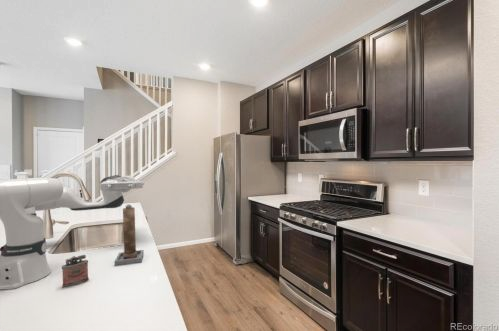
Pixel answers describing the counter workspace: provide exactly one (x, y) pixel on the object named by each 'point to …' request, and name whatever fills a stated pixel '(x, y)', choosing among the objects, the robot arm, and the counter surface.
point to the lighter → (75, 271)
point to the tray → (120, 260)
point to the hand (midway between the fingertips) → (119, 186)
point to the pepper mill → (129, 233)
